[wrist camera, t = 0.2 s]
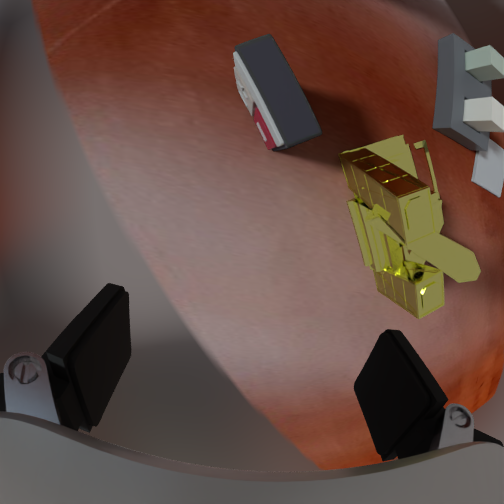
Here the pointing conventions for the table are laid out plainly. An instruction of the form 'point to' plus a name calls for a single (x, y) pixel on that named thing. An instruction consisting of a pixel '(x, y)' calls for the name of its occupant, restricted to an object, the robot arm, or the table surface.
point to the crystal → (403, 226)
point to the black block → (273, 94)
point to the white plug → (484, 114)
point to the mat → (489, 169)
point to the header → (457, 94)
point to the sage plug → (484, 64)
